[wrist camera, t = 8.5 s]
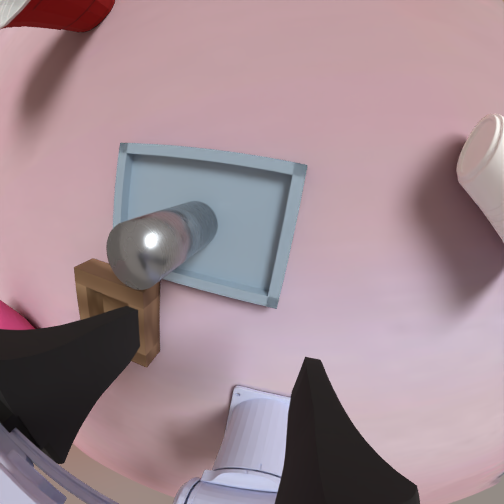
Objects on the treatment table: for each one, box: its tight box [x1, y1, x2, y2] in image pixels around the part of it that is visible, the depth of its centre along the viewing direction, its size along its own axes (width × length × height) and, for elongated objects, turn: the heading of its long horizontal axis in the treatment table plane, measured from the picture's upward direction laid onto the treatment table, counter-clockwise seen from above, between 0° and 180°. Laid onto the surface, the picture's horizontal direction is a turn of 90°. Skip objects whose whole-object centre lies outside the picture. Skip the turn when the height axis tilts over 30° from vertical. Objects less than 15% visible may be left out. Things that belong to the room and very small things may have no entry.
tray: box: [113, 143, 307, 309], centre depth 19 cm, size 10×14×2 cm
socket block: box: [74, 258, 160, 367], centre depth 23 cm, size 8×8×3 cm
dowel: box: [107, 201, 218, 290], centre depth 16 cm, size 3×3×8 cm
